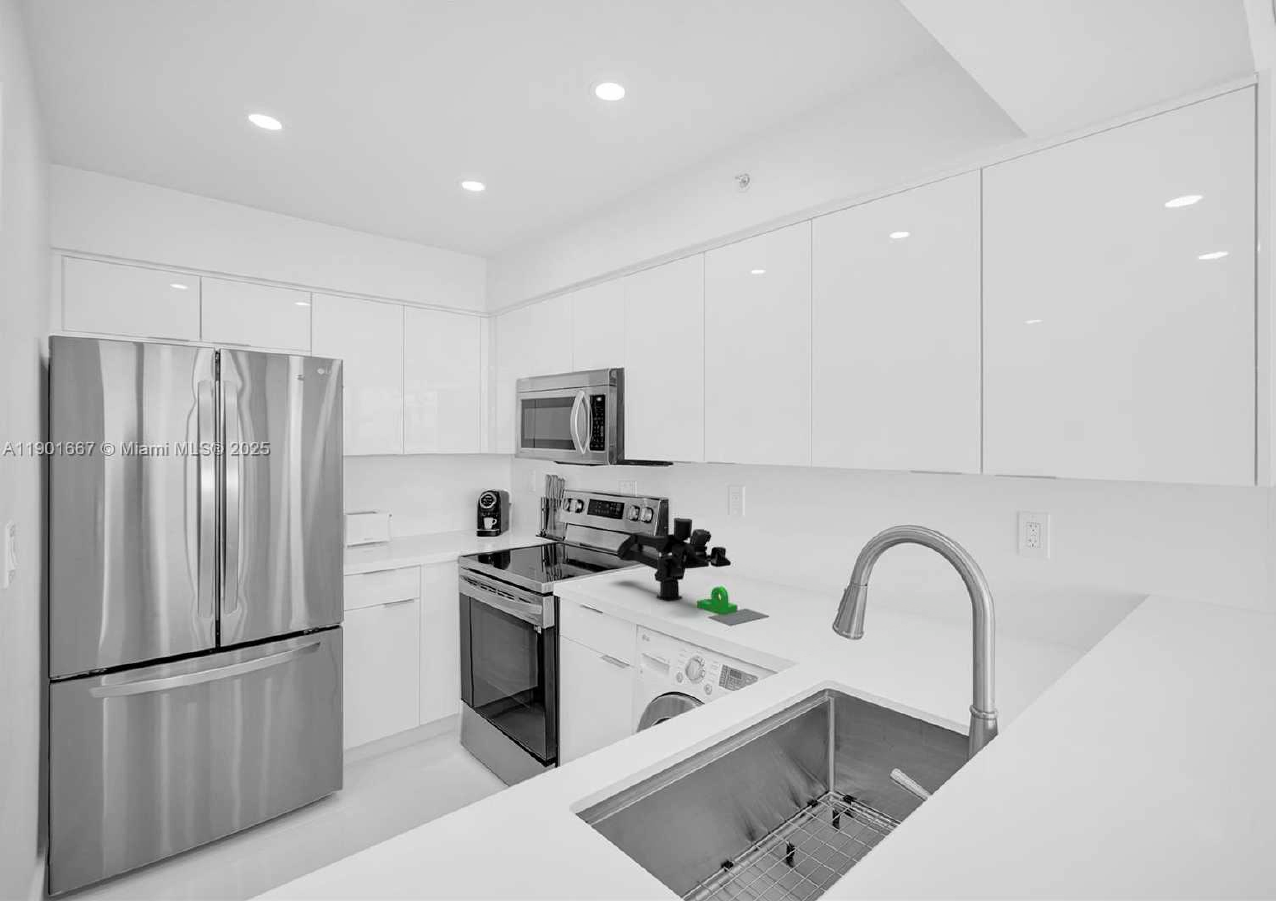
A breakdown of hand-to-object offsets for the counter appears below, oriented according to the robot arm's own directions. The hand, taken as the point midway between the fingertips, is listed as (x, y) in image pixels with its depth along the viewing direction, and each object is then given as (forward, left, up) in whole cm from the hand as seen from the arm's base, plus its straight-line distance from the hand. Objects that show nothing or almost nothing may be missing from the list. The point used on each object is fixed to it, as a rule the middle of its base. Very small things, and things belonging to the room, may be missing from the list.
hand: (719, 564), depth 192 cm
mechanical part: (-5, +4, -16) cm, 17 cm away
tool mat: (+5, +4, -16) cm, 17 cm away
